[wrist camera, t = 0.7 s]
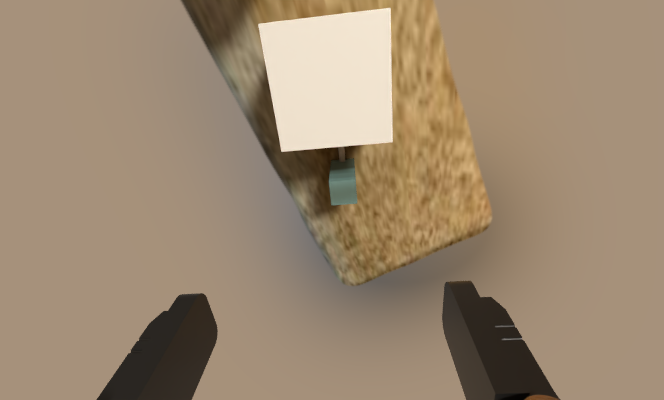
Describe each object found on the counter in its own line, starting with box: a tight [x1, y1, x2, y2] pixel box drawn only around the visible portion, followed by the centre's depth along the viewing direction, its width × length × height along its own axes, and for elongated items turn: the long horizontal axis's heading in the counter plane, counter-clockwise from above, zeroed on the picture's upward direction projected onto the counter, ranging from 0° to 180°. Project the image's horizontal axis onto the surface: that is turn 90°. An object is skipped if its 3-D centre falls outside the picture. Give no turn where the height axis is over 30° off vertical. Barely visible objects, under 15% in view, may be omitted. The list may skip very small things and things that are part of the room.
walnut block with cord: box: [329, 146, 357, 205], centre depth 30 cm, size 15×5×8 cm, turn 6°
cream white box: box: [258, 8, 393, 152], centre depth 27 cm, size 9×9×10 cm
